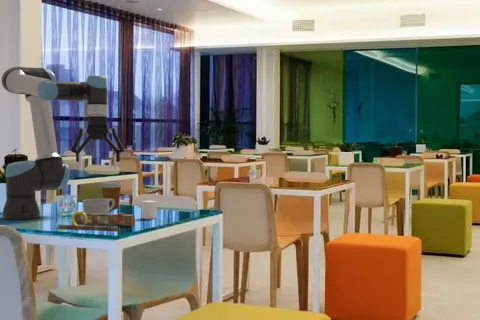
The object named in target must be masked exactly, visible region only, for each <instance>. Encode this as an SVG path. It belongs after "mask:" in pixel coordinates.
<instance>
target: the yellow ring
mask: <svg viewBox="0 0 480 320" xmlns="http://www.w3.org/2000/svg"><path fill="white" fill-rule="evenodd" d="M73 213H74V214H72V217H71V218H72V219H71V221H72V225H78V224H76V222H75V215H76V214H77V213H82V214H83V215H84V217H85V223H84V224H79V225H80V226H87V225H88V224H87V222H88V217H87V215H86V214H85V213H84V210H76V212H73Z"/></svg>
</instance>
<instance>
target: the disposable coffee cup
mask: <svg viewBox="0 0 480 320" xmlns="http://www.w3.org/2000/svg"><path fill="white" fill-rule="evenodd" d="M100 187H101V190H102V191H101V192H102V198H108V199H110V198H111V199H114V201H115V206H114V207H113V208H112V209H111V210H115V209H119V205H120V197H121V189H122V183H121V181H102V182H101V184H100ZM111 205H112V201H110V202H109V208H110V207H111Z"/></svg>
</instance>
